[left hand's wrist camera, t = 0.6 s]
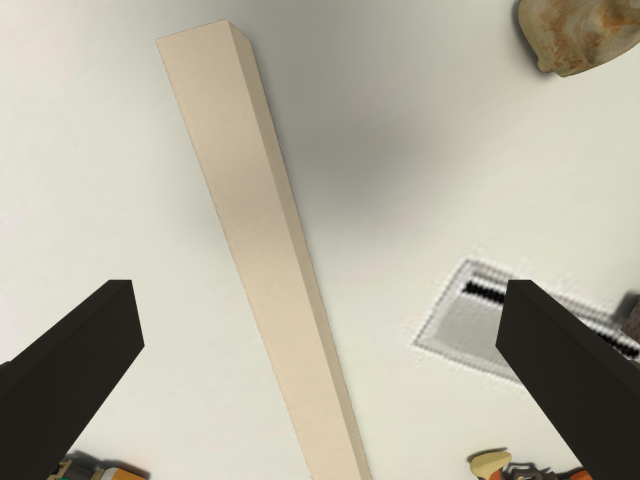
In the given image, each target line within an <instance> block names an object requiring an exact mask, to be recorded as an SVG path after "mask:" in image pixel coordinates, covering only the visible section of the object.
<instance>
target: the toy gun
mask: <svg viewBox="0 0 640 480" xmlns="http://www.w3.org/2000/svg"><path fill="white" fill-rule="evenodd" d="M510 461H511V454H510V453H508V452H493V453H486V454H483V455H480V456H477V457H475V458H473V460H472V462H471V464H470V468H471V471H472V473H473V474H474V475H475V476H477V477H478V479H479V480H521V479H522V478H524V477H530V476H532V478H531V479H526V480H558V477H557V476H556V475H555V473H554V472H553V471H552V472H550V473H548V474H545V475H543V476H542V475H541V473H540V472H539V471H538V469H536V468H531V469H512V471H511V476H510V478H509V479H506V478H504V477H503V475H502V470H503V466H505V465H506V464H507V463H509V462H510ZM516 478H517V479H516ZM562 480H593V479H592V478H591V476H590V475H589V474H588V472H587V471H586V470H585V471H580V472H578V473H576V474H574V475H572V476H570V478H568V479H562Z"/></svg>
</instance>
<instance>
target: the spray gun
mask: <svg viewBox="0 0 640 480" xmlns="http://www.w3.org/2000/svg"><path fill="white" fill-rule="evenodd" d="M72 462H73V461H72V460H69V461H68V462H60V463H59V464H58V465H57V467H56V468H55V470H54V471H53V472H52V474H51V475H50V476H49V478H48V479H47V480H146V479H145V478H142V477H140V476H137V475H135V474H132V473H130V472H127V471H125V470H122V469H120V468H114V467H112V468H110V469H107V470H106V471H105V469H103V468H102V469H100V470H99V471H98V472H96V473H94V475H93V473H92V472H91V471H89V470H87V469H85V468H83V467H81V466H79V465H76V464H74V463H72ZM64 465H65V466H64ZM104 471H105V472H104Z"/></svg>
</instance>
